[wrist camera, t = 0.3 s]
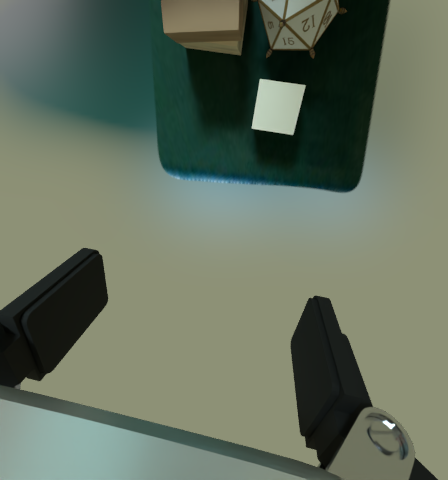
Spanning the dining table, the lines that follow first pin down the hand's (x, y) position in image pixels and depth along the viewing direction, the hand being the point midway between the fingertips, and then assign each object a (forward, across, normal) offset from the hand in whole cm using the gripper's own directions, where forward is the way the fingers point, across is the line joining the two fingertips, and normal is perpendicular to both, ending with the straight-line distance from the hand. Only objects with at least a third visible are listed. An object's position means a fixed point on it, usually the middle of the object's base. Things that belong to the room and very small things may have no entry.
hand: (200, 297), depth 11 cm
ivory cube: (+29, -3, -8) cm, 30 cm away
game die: (+29, -2, -17) cm, 34 cm away
